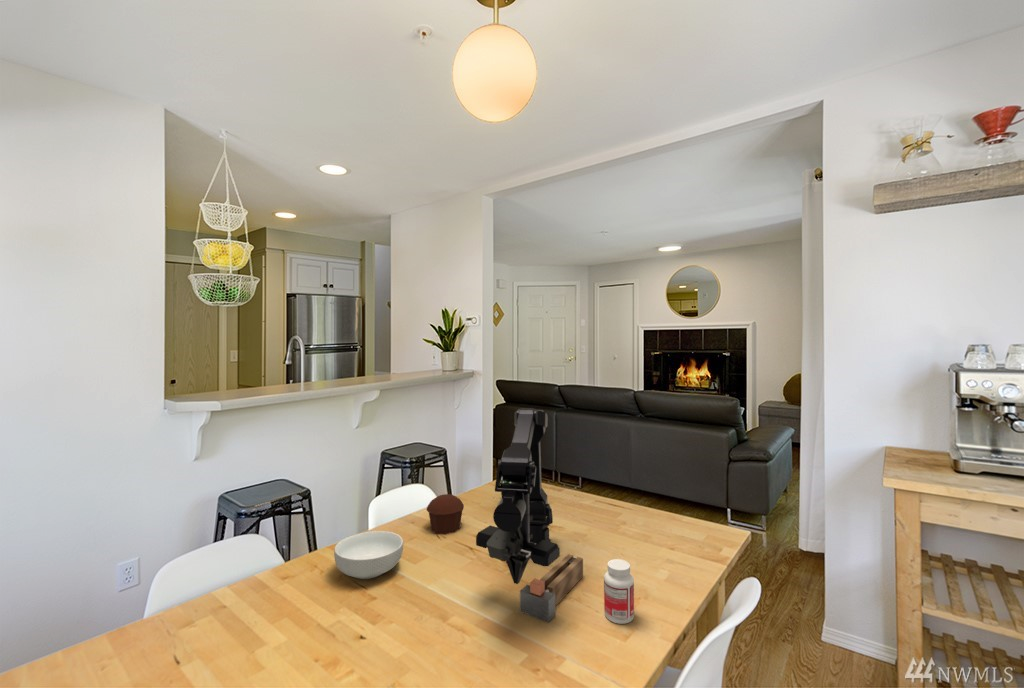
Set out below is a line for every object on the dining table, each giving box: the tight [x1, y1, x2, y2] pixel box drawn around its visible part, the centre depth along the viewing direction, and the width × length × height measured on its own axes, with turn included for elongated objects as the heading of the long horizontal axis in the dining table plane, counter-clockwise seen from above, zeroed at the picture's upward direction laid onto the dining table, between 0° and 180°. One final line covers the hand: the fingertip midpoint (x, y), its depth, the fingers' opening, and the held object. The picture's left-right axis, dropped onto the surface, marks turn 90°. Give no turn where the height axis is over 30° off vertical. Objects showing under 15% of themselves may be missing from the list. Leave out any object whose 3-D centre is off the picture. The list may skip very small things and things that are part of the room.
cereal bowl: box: [333, 530, 404, 580], centre depth 116 cm, size 17×17×7 cm
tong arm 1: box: [539, 553, 576, 590], centre depth 107 cm, size 16×2×4 cm, turn 147°
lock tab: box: [529, 577, 545, 596], centre depth 97 cm, size 2×2×2 cm
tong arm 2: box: [547, 556, 584, 607], centre depth 106 cm, size 16×2×4 cm, turn 147°
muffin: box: [426, 493, 465, 535], centre depth 141 cm, size 12×11×10 cm
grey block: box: [519, 584, 556, 623], centre depth 98 cm, size 7×4×5 cm, turn 57°
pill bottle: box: [603, 558, 635, 625], centre depth 96 cm, size 6×6×11 cm
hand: (516, 583), depth 100 cm, fingers closed
